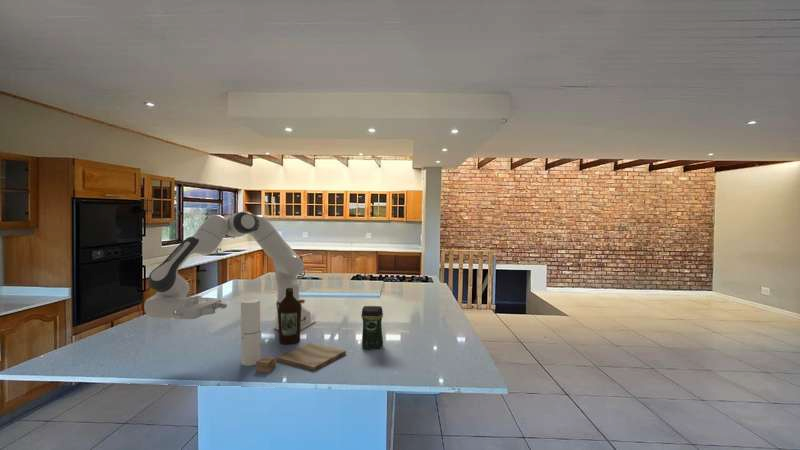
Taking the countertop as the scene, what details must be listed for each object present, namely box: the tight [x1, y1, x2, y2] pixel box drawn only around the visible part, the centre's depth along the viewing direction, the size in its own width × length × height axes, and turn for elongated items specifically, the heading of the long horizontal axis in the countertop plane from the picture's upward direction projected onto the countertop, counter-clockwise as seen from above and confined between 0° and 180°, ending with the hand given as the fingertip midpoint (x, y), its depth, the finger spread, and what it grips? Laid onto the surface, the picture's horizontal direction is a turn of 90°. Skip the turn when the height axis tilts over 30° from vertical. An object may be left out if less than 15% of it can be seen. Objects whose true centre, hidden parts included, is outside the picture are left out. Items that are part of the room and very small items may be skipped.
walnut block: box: [255, 356, 277, 374], centre depth 147 cm, size 5×5×4 cm
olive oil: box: [278, 288, 302, 345], centre depth 179 cm, size 11×11×25 cm
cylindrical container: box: [240, 298, 261, 367], centre depth 154 cm, size 7×7×25 cm
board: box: [276, 342, 347, 372], centre depth 159 cm, size 20×20×2 cm
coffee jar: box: [360, 305, 384, 350], centre depth 172 cm, size 10×8×19 cm
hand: (220, 308), depth 154 cm, fingers open, 8 cm apart
